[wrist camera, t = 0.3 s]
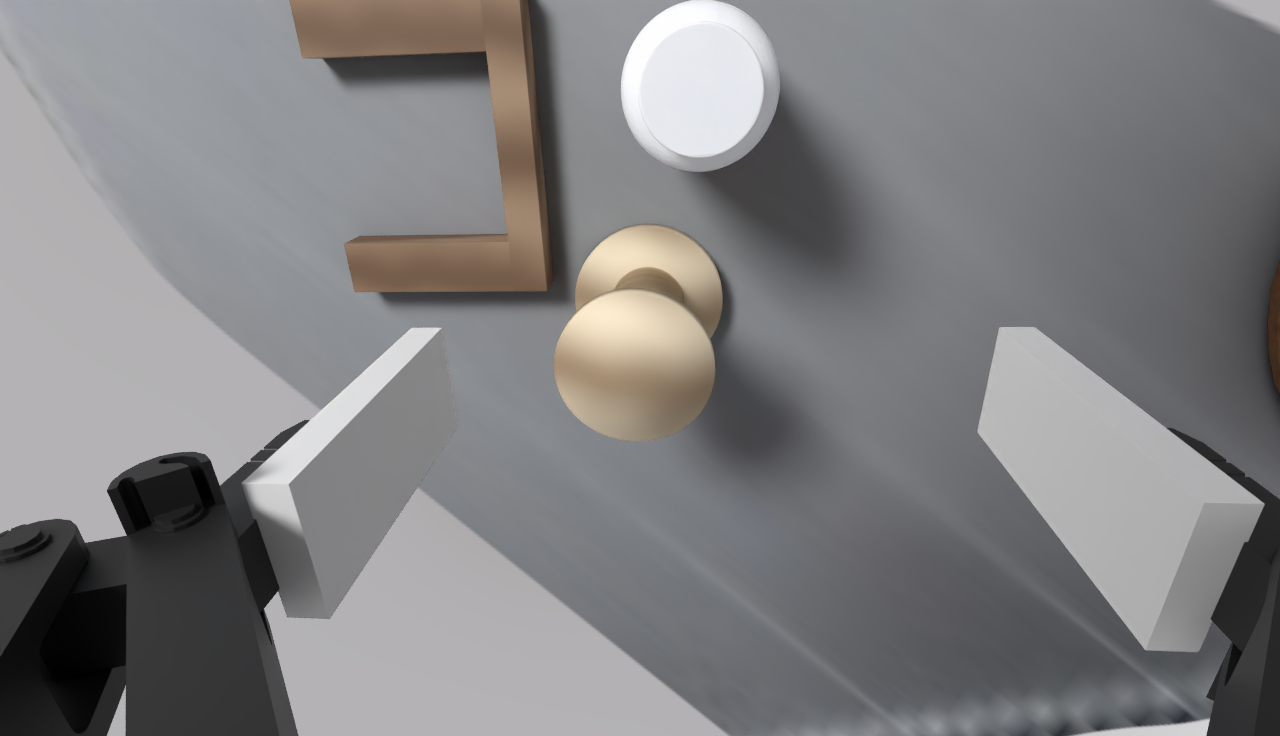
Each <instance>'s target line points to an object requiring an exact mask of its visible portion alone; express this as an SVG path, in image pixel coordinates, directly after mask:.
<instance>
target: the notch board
mask: <svg viewBox="0 0 1280 736" xmlns="http://www.w3.org/2000/svg"><path fill="white" fill-rule="evenodd" d="M290 5H291V9H292V14H293V18H294V23H295V27H296V32H297V36H298V40H299V45H300V49H301V54H302V58H321V59H323V58H349V57H376V56H403V55H430V54H456V53H483V52H486V54H487V62H488V71H489V79H490V88H491V97H492V105H493V114H494V122H495V131H496V139H497V148H498V156H499V165H500V174H501V182H502V191H503V199H504V208H505V216H506V225H507V233H508V234H481V235H404V236H359V237H357V238H355V239H353V240H351V241H349V242H347V243H345V244H344V246H345V251H346V255H347V260H348V264H349V269H350V273H351V278H352V282H353V286H354V291H355V292H482V291H547V290H548V289H549V287H550V286H551V284H552V283H553V281H554V280H553V269H552V258H551V246H550V235H549V224H548V213H547V202H546V191H545V180H544V169H543V157H542V146H541V135H540V124H539V113H538V102H537V91H536V80H535V68H534V57H533V46H532V35H531V24H530V13H529V2H528V0H290Z"/></svg>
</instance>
